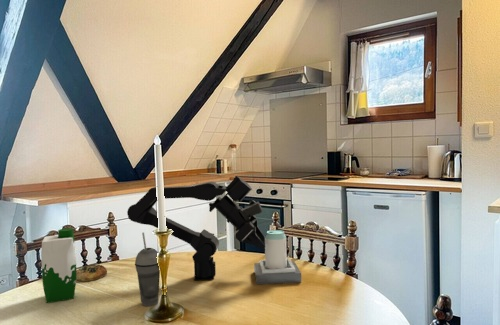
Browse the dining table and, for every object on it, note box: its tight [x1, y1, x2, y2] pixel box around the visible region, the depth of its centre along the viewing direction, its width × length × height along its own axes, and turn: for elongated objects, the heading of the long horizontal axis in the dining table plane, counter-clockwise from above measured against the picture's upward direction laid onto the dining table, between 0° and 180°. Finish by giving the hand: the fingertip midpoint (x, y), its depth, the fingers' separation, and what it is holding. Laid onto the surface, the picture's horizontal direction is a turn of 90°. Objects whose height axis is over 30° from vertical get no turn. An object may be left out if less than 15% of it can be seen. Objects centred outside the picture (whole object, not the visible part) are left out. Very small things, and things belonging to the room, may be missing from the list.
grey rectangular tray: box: [253, 258, 302, 285], centre depth 122 cm, size 14×12×4 cm
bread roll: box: [76, 264, 108, 282], centre depth 128 cm, size 11×11×5 cm
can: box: [264, 229, 288, 269], centre depth 122 cm, size 7×7×12 cm
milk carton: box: [40, 227, 78, 304], centre depth 110 cm, size 9×9×20 cm
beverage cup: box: [134, 232, 161, 307], centre depth 104 cm, size 7×7×20 cm
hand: (264, 244), depth 122 cm, fingers open, 9 cm apart
